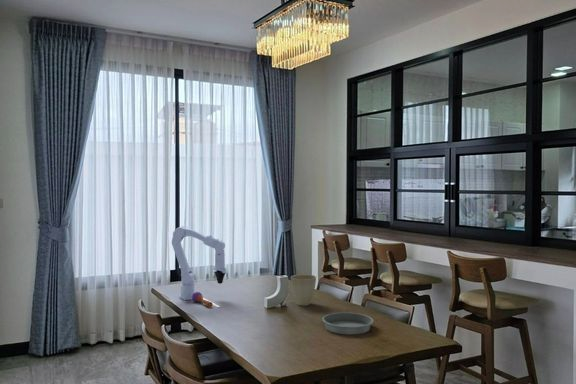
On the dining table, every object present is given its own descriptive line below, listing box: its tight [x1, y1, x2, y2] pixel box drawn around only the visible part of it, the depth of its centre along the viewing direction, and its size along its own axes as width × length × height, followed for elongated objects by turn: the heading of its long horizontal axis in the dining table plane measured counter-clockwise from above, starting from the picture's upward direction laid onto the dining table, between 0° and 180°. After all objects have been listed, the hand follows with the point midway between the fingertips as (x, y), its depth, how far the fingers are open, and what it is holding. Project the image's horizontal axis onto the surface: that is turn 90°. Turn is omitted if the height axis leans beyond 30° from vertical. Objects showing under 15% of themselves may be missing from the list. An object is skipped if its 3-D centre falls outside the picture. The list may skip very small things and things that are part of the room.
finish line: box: [203, 297, 221, 308], centre depth 286 cm, size 26×2×1 cm, turn 32°
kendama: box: [191, 291, 214, 308], centre depth 283 cm, size 6×6×20 cm
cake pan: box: [321, 312, 374, 335], centre depth 235 cm, size 25×25×4 cm
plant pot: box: [290, 274, 317, 307], centre depth 281 cm, size 15×15×16 cm
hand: (219, 283), depth 296 cm, fingers closed
